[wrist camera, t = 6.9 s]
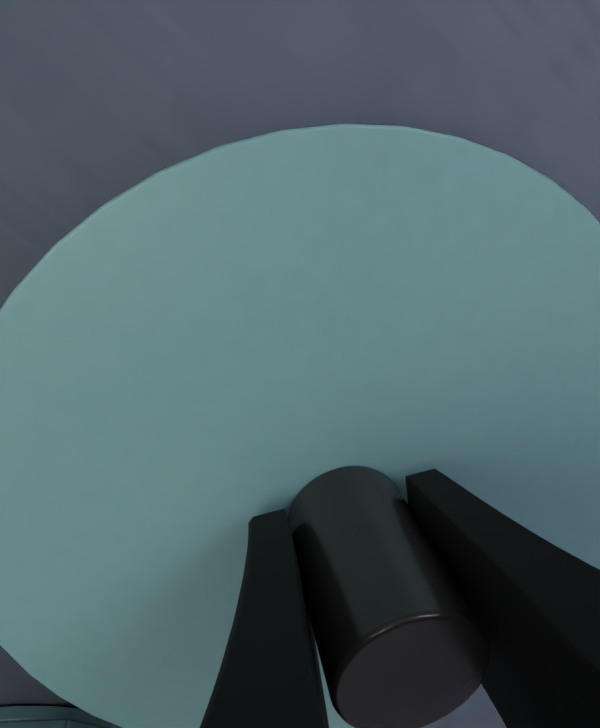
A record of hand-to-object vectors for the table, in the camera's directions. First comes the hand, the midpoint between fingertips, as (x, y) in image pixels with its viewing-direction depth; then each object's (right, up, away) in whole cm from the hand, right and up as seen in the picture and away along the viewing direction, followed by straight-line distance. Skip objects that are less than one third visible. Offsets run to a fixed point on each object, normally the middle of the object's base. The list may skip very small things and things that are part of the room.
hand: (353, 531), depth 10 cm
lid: (0, 0, +1) cm, 1 cm away
